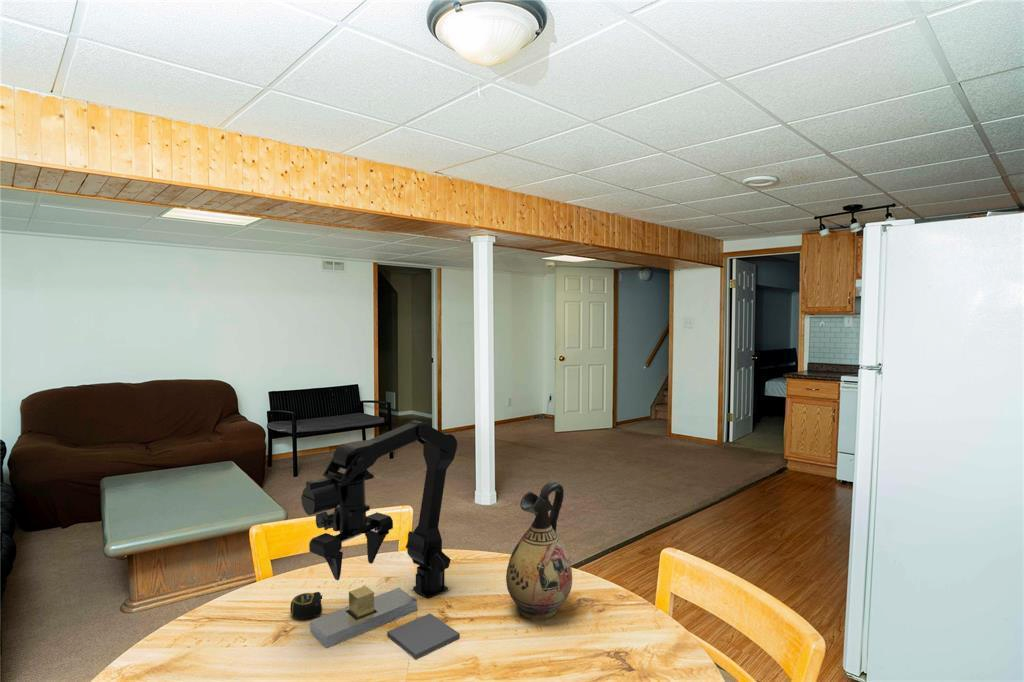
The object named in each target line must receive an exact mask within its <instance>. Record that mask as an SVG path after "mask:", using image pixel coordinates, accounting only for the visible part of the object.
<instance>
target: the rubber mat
mask: <svg viewBox="0 0 1024 682" xmlns="http://www.w3.org/2000/svg"><path fill="white" fill-rule="evenodd" d="M460 636H461V635H460V632H458V631H457V630H456V629H454V628H452V627H451V626H449V625H448V624H446V623H445V622H444V621H443V620H441V619H439V618H438V617H437V616H435V615H434V614H432V613H427V614H425V615H422V616H420V617H418V618H415V619H413V620H410V621H408V622H406V623H403V624H402V625H401V624H400V626H397V627H394V628H392V629H390V630H387V631H386V637H388V638H389V639H390V640H391V641H392V642H394V643H395V644H396V645H398V647H400V648H401V649H402V650H404V651H405V652H406V653H408V655H410V656H411V657H412V658H413V659H414V660H417V659H420V658H422V657H423V656H426V655H428V654H430V653H432V652H434V651H436V650H438V649H441V648H442V647H444V646H446V645H449V644H450V643H452V642H455V641H456V640H459V639H460Z"/></svg>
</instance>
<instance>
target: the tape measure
mask: <svg viewBox="0 0 1024 682" xmlns="http://www.w3.org/2000/svg"><path fill="white" fill-rule="evenodd" d="M322 600H323V594H322V593H321V592H320V591H316V592H304V593H300V594H298V595H296V596H294V598H292V600H291V602H290V608H289V609H290V613H291V615H292V616H293V618H295V619H298V620H304V619H310V618H313V617H317V616H319V615H321V614H322V610H323V607H322V606H323V605H322Z"/></svg>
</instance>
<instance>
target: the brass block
mask: <svg viewBox="0 0 1024 682" xmlns="http://www.w3.org/2000/svg"><path fill="white" fill-rule="evenodd" d="M374 597H375V592H374V591H373V590H372V589H370V588H369V587H368V586H366V585H364V586H361V587H359V588H356V589H353V590H350V591H348V606H349V615H350V616H352V617H353V618H354V619H355V620H359V619H361V618H364V617H366V616H369V615H371V614H374Z"/></svg>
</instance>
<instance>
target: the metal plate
mask: <svg viewBox="0 0 1024 682" xmlns="http://www.w3.org/2000/svg"><path fill="white" fill-rule="evenodd" d="M414 612H418V599H416V598H415V597H413V596H412V595H410V594H409V593H408V592H406V591H405V590H403V589H402V588H400V587H397V588H394V589H392V590H389V591H386V592H384V593H380V594H377V595H374V614H371V615H369V616H366V617H364V618H361V619H359V620H355V619H354V618H353V617H352V616H350V615H349V605H348V606H347V607H344V608H343V607H342V608H341V609H337V610H335V611H333V612H330V613H327V614H325V615H324V614H323V615H322V616H320V617H319V616H318V617H316V618H314V619H310V620H309V623H310V624H309V627H310V628H309V632H310V634H312V636H313V637H314V638H315V639H316V640H318V641H319V643H320V644H321V645H323V646H324V648H326V649H327V648H330V647H333V646H335V645H337V644H340V643H342V642H344V641H347V640H350V639H353V638H355V637H358V636H359V635H362V634H364V633H366V632H367V633H368V632H369V631H371V630H374V629H376V628H378V627H381V626H384V625H386V624H388V623H391V622H392V621H393V622H394V621H395V620H398V619H400V618H402V617H405V616H407V615H410V614H412V613H414Z"/></svg>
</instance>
